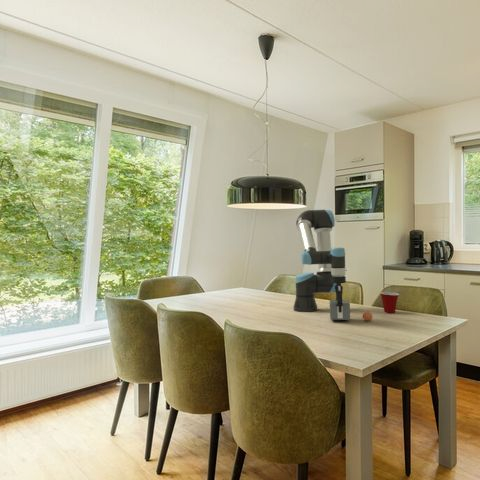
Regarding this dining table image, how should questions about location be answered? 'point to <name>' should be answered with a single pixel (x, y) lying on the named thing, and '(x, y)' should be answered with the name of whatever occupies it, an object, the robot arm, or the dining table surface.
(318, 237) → the robot arm
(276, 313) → the dining table surface
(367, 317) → the ball
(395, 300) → the plastic cup
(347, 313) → the trap cup
